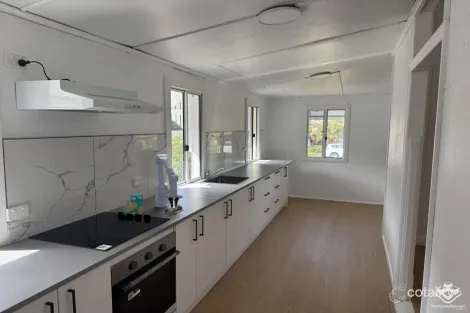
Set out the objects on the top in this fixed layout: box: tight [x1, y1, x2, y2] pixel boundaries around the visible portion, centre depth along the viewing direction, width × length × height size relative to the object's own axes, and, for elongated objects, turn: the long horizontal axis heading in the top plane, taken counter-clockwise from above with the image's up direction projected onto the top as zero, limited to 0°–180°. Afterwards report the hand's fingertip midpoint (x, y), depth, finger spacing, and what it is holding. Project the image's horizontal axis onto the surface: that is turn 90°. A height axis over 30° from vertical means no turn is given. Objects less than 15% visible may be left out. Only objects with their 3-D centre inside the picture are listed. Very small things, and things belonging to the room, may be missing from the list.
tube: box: [167, 203, 181, 215], centre depth 241 cm, size 14×4×4 cm
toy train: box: [122, 193, 145, 216], centre depth 232 cm, size 8×17×15 cm, turn 159°
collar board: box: [163, 205, 184, 215], centre depth 242 cm, size 10×14×4 cm
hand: (173, 206), depth 242 cm, fingers open, 3 cm apart
